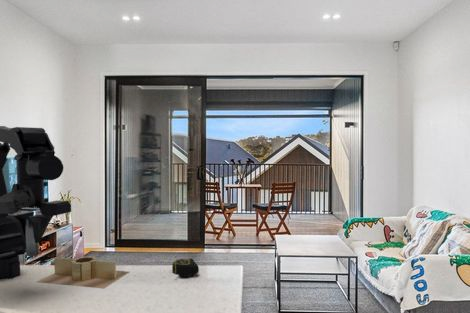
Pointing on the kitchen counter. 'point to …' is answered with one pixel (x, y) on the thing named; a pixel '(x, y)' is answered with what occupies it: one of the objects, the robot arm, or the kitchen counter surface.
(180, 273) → the tape measure
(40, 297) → the kitchen counter surface
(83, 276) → the brass hinge
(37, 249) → the hinge pin
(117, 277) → the walnut board
